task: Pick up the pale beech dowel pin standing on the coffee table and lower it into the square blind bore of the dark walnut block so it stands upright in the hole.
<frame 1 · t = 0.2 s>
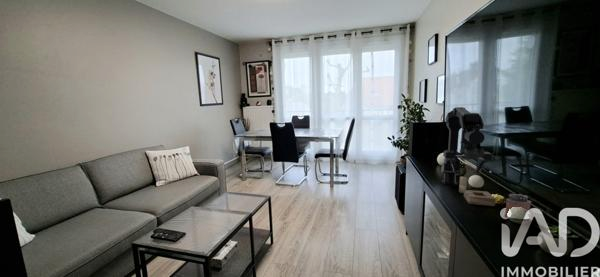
hand: (465, 172, 119), 14 cm above the table, fingers open, 9 cm apart
pin: (462, 192, 133), on the table
lighter: (516, 218, 104), on the table
bore block: (478, 201, 121), on the table
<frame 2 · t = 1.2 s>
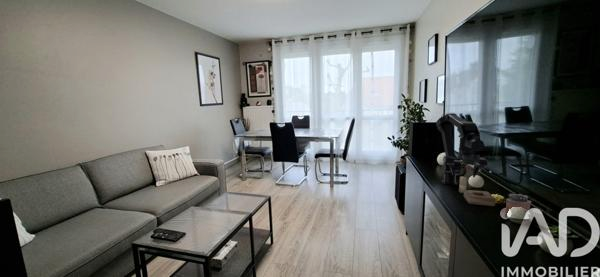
hand: (463, 176, 132), 8 cm above the table, fingers open, 9 cm apart
nothing on the table moved.
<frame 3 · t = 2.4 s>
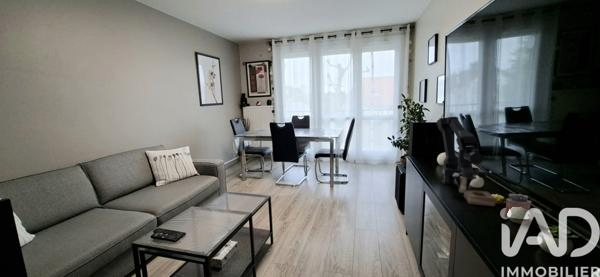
hand: (462, 188, 132), 2 cm above the table, fingers closed on pin, 3 cm apart
pin: (462, 192, 133), on the table, touching gripper
everything else where it was.
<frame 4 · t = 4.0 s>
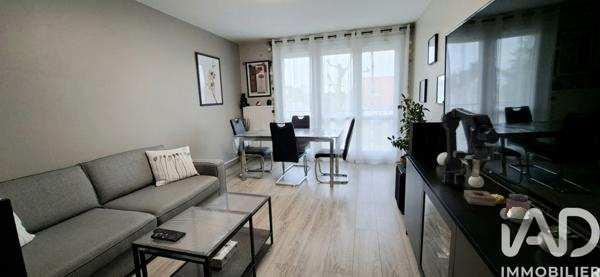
hand: (475, 172, 123), 13 cm above the table, fingers closed on pin, 3 cm apart
pin: (475, 176, 123), point 11 cm above the table, touching gripper
everything else where it was.
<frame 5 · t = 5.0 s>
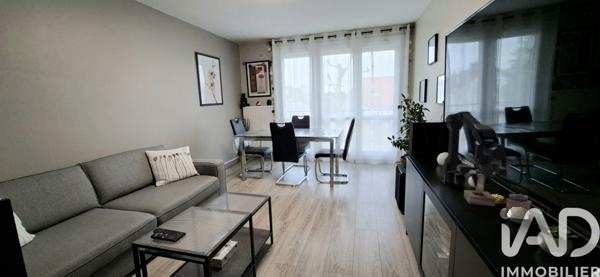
hand: (479, 187, 120), 7 cm above the table, fingers closed on pin, 3 cm apart
pin: (479, 191, 120), point 5 cm above the table, touching gripper
everything else where it was.
when the fingers open (5 cm above the table, at t = 5.7 s): pin drops 1 cm, resting on bore block.
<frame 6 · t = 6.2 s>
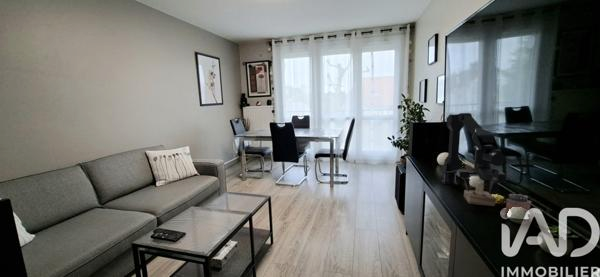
hand: (479, 192, 121), 5 cm above the table, fingers open, 9 cm apart
pin: (478, 199, 121), point 1 cm above the table, touching bore block
everything else where it was.
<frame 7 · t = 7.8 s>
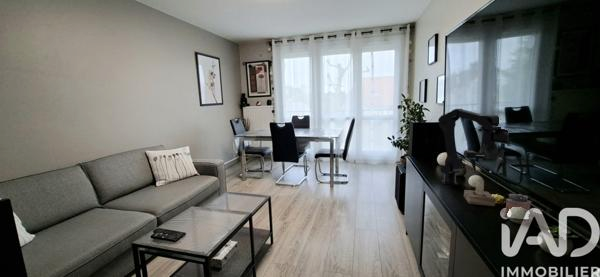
hand: (485, 172, 126), 12 cm above the table, fingers open, 9 cm apart
nothing on the table moved.
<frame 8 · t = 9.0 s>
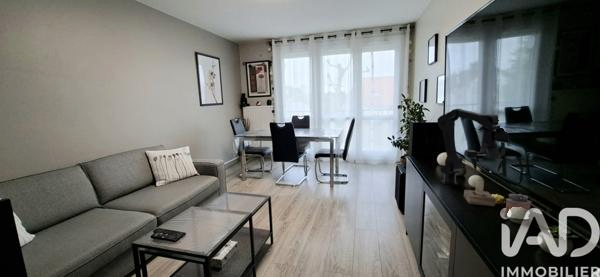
hand: (486, 171, 126), 13 cm above the table, fingers open, 9 cm apart
nothing on the table moved.
at the end: pin 0.0 cm off-centre on the bore block, point 1.0 cm above the bore block's base; pin tilted 1°; the gripper is holding nothing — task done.
